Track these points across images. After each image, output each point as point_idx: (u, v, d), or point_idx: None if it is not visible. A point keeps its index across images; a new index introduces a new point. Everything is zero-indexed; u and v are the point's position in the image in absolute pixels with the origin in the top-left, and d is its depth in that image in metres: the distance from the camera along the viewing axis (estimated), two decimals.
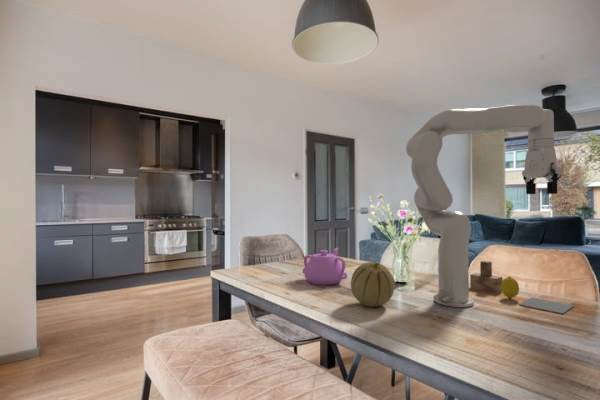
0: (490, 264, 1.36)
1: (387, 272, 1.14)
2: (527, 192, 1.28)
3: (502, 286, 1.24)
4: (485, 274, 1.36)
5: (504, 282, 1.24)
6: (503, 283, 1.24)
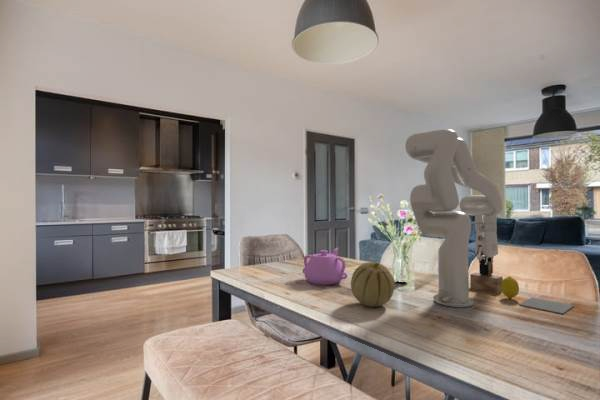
0: (490, 264, 1.36)
1: (387, 272, 1.14)
2: None
3: (502, 286, 1.24)
4: None
5: (504, 282, 1.24)
6: (503, 283, 1.24)
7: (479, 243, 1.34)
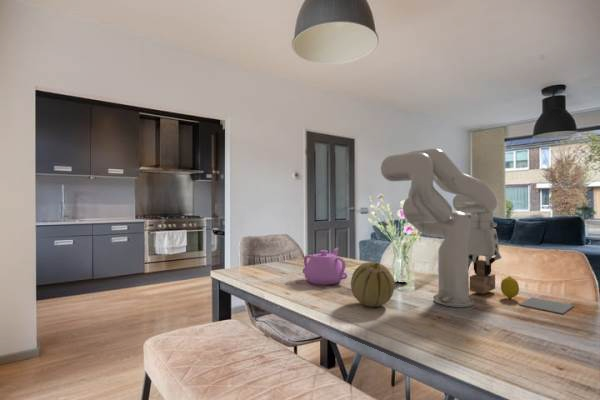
0: None
1: (387, 272, 1.14)
2: None
3: (502, 286, 1.24)
4: None
5: (504, 282, 1.24)
6: (503, 283, 1.24)
7: (495, 242, 1.27)
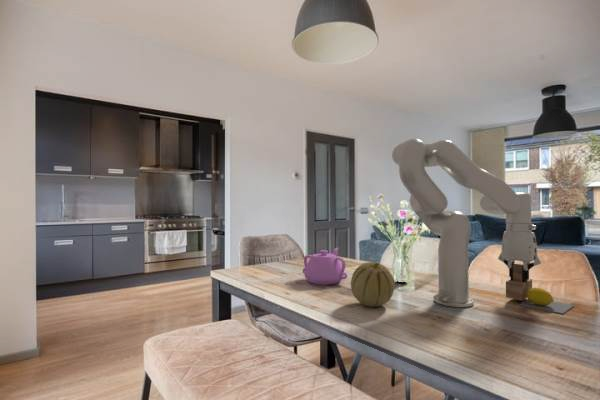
0: None
1: (387, 272, 1.14)
2: None
3: (538, 298, 1.13)
4: None
5: (544, 301, 1.12)
6: (542, 300, 1.12)
7: (534, 246, 1.18)
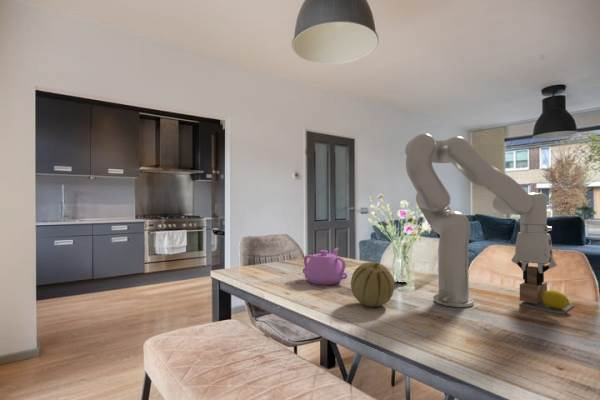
0: None
1: (387, 272, 1.14)
2: None
3: (553, 301, 1.09)
4: None
5: (560, 304, 1.09)
6: (558, 303, 1.09)
7: (550, 248, 1.14)
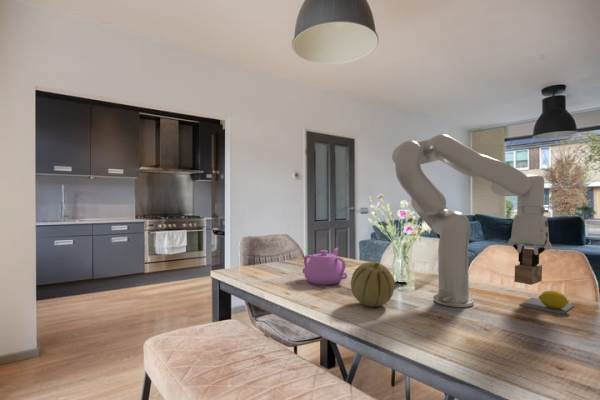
0: None
1: (387, 272, 1.14)
2: None
3: (552, 301, 1.10)
4: None
5: (559, 303, 1.09)
6: (557, 302, 1.09)
7: (546, 230, 1.15)
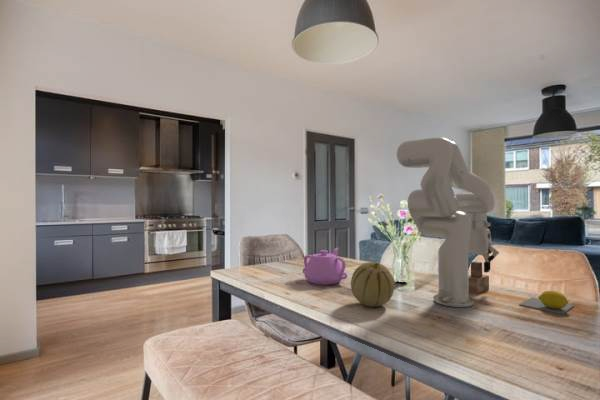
0: None
1: (387, 272, 1.14)
2: None
3: (552, 301, 1.10)
4: (480, 275, 1.35)
5: (559, 303, 1.09)
6: (557, 302, 1.09)
7: (489, 241, 1.32)
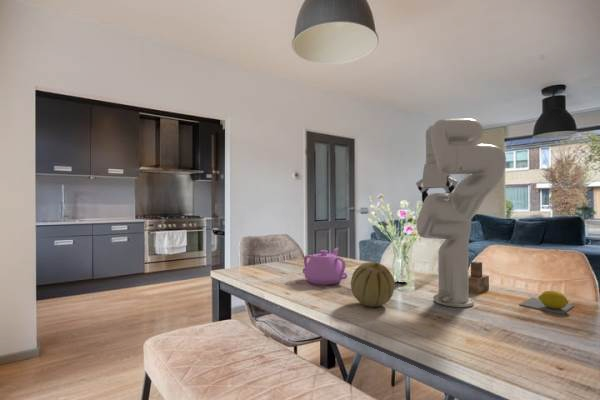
0: None
1: (387, 272, 1.14)
2: None
3: (552, 301, 1.10)
4: (480, 275, 1.35)
5: (559, 303, 1.09)
6: (557, 302, 1.09)
7: (447, 174, 1.36)
